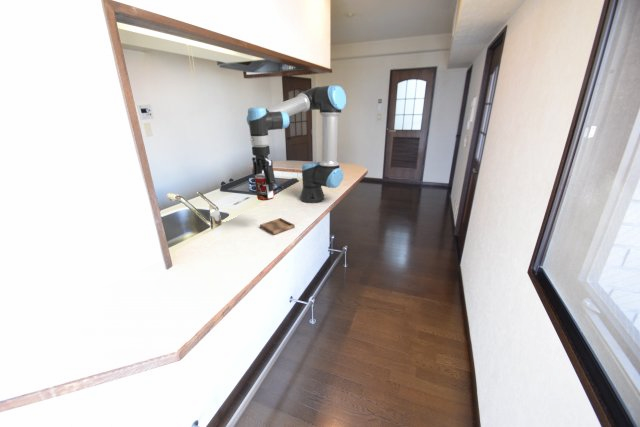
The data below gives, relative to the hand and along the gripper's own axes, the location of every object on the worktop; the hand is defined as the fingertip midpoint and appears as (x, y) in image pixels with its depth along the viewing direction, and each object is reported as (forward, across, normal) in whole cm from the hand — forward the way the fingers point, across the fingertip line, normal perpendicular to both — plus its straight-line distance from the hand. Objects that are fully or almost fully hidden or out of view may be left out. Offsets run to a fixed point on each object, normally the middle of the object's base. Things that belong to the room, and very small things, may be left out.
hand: (265, 195), depth 127 cm
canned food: (+1, 0, 0) cm, 1 cm away
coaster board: (+17, +3, +3) cm, 17 cm away
